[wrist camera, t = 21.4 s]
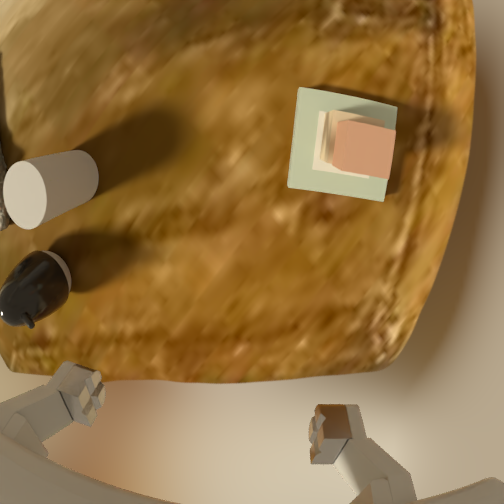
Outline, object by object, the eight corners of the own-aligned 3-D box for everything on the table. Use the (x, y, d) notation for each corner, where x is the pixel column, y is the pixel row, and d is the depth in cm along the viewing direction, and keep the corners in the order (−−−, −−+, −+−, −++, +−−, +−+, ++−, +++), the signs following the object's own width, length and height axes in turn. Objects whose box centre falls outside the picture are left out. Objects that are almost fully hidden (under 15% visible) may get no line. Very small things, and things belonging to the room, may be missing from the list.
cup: (74, 138, 36) (18, 147, 25) (108, 174, 38) (56, 192, 27) (49, 180, 39) (-4, 199, 28) (80, 214, 41) (31, 242, 30)
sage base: (297, 90, 33) (299, 86, 31) (390, 108, 33) (397, 107, 31) (287, 184, 38) (288, 187, 35) (377, 197, 37) (383, 201, 35)
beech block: (325, 113, 32) (333, 109, 27) (370, 121, 32) (385, 120, 27) (319, 158, 34) (327, 163, 29) (364, 166, 34) (378, 172, 29)
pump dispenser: (81, 305, 47) (34, 358, 33) (38, 286, 46) (-12, 329, 32) (81, 252, 43) (23, 299, 29) (35, 235, 43) (-25, 273, 28)
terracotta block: (337, 121, 28) (348, 120, 23) (379, 130, 27) (396, 130, 23) (331, 165, 29) (341, 170, 25) (373, 172, 29) (388, 179, 25)
